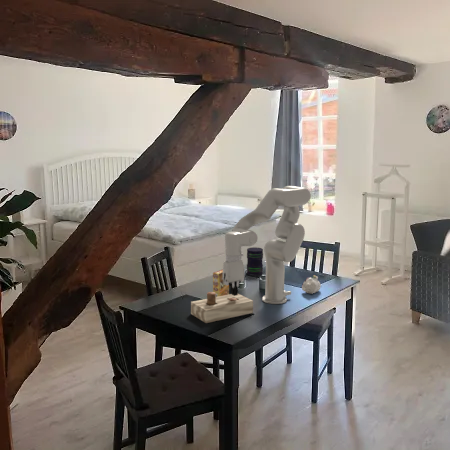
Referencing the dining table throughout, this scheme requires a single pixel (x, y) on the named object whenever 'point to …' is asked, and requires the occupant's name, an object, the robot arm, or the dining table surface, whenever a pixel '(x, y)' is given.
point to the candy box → (219, 284)
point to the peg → (211, 298)
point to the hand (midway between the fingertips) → (234, 294)
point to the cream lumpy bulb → (311, 285)
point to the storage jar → (254, 261)
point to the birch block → (221, 308)
